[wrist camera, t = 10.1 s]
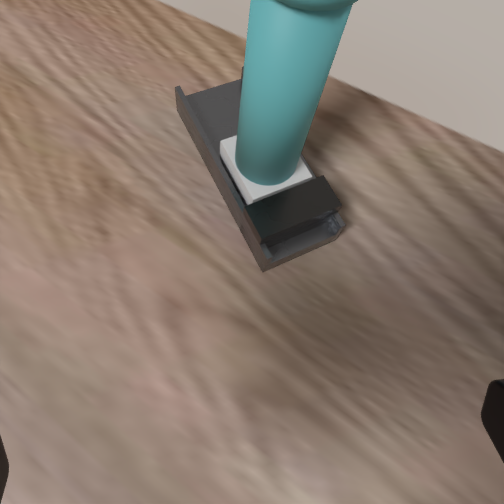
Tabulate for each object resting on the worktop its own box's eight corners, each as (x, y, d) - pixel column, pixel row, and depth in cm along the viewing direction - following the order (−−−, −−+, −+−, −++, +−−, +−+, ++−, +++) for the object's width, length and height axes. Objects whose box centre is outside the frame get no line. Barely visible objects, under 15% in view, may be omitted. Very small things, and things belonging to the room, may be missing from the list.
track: (335, 240, 24) (350, 218, 22) (262, 272, 23) (269, 253, 21) (244, 88, 28) (247, 55, 26) (177, 110, 27) (173, 76, 24)
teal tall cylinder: (308, 190, 24) (405, -32, 12) (246, 215, 23) (287, -1, 11) (276, 137, 25) (337, -112, 14) (216, 159, 24) (224, -90, 13)
